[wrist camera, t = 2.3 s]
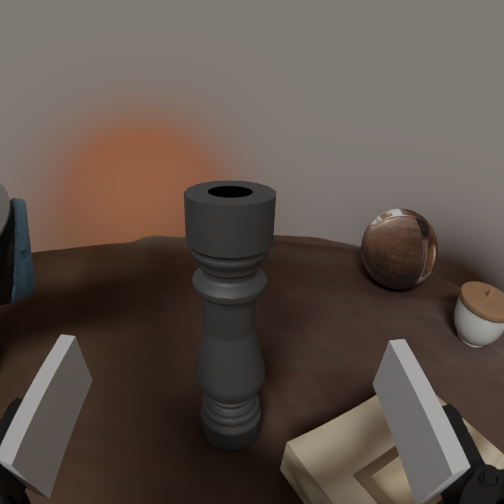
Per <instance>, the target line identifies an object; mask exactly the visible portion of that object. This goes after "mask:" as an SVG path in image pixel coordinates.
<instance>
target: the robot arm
mask: <svg viewBox="0 0 504 504" xmlns="http://www.w3.org/2000/svg"><path fill="white" fill-rule="evenodd" d="M34 289H35V276H34V269H33V262H32V254H31V246H30V238H29V230H28V220H27V211H26V204H25V201H24V200H22V199H16V198H12V199H11V200H9V197H8V194H7V191H6V190H5V188H4V187H3V186H2V185H1V184H0V305H4V304H8V303H9V304H13V303H14V302H15V301H17V300H20V299H23V298H26V297H29V296H30V295H31V294H32V293H33V291H34ZM92 381H93V379H92V377H91V375H90V372H89V370H88V368H87V365H86V363H85V360H84V358H83V355H82V353H81V350H80V347H79V345H78V342H77V339H76V337H75V336H69V335H62V334H61V335H60V337H59V339H58V340H57V342H56V343H55V345H54V347H53V348H52V350H51V352H50V353H49V355H48V357H47V358H46V360H45V362H44V363H43V365H42V367H41V368H40V370H39V372H38V374H37V375H36V377H35V379H34V381H33V383H32V384H31V386H30V388H29V390H28V392H27V393H26V395H25V397H24V399H19V398H16V399H15V400H14V401H13V402H12V403H11V404H10V405H9V406H8V407H7V409H6V411H5V413H4V415H3V416H4V417H3V418H2V419H1V421H0V504H31V503H30V501H29V498H28V496H27V494H26V493H25V489H26V487H27V488H28V489H29V490H30V491H32V492H33V493H35V494H37V495H40V496H42V497H45V498H47V499H50V495H51V492H52V489H53V486H54V483H55V479H56V476H57V473H58V470H59V467H60V464H61V461H62V458H63V456H64V453H65V450H66V447H67V444H68V442H69V439H70V436H71V433H72V431H73V428H74V425H75V423H76V420H77V418H78V415H79V413H80V410H81V408H82V405H83V403H84V400H85V398H86V395H87V393H88V390H89V388H90V386H91V383H92ZM373 387H374V389H375V392H376V394H377V397H378V399H379V402H380V405H381V407H382V410H383V413H384V415H385V418H386V420H387V423H388V426H389V429H390V431H391V434H392V437H393V440H394V442H395V445H396V448H397V451H398V454H399V456H400V459H401V462H402V465H403V468H404V471H405V474H406V477H407V480H408V483H409V486H410V489H411V492H412V495H413V499H414V502H415V504H423V503H426V502H428V501H431V500H433V499H435V498H436V497H437V496H438V495H439V494H441V497H442V499H441V500H440V501H439V502H437V503H436V504H504V469H497V468H496V467H494V466H492V465H489V464H486V463H485V462H484V461H483V459H482V457H481V455H480V453H479V451H478V449H477V446H476V444H475V442H474V440H473V438H472V436H471V434H470V432H468V428H467V427H466V425H465V424H464V421H463V419H462V417H461V415H460V413H459V412H458V411H457V410H456V409H455V408H454V407H453V406H452V405H451V404H447V405H443V406H441V404H440V402H439V400H438V399H437V397H436V395H435V393H434V391H433V389H432V387H431V385H430V383H429V382H428V380H427V378H426V376H425V374H424V372H423V371H422V369H421V367H420V365H419V364H418V362H417V360H416V358H415V356H414V355H413V353H412V351H411V349H410V348H409V346H408V344H407V343H406V341H405V339H401V340H391V341H389V343H388V345H387V348H386V351H385V354H384V356H383V359H382V362H381V364H380V367H379V369H378V372H377V374H376V377H375V379H374V382H373Z"/></svg>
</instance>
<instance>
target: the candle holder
mask: <svg viewBox="0 0 504 504" xmlns="http://www.w3.org/2000/svg"><path fill="white" fill-rule="evenodd" d="M275 202H276V191H275V190H273V189H271V188H270V187H268V186H265V185H261V184H258V183H252V182H245V181H212V182H206V183H201V184H197V185H195V186H192V187H189V188H188V189H187V190H186V191H185V192H184V205H185V206H184V207H185V229H186V241H187V244H188V246H189V247H190V248H191V252H192V255H193V257H194V259H195V260H196V261H197V262H198V265H199V267H200V268H198V269H197V270H196V271H195V272H194V275H193V277H192V284H193V287H194V290H195V293H196V294H198V295H199V296H200V297H201V298H202V299H203V312H204V330H203V334H202V339H201V343H200V348H199V353H198V357H197V361H196V366H195V376H196V380H197V384H198V386H199V388H200V389H201V390H202V391H203V392H204V394H203V397H202V402H201V409H200V416H201V423H202V429H203V432H204V435H205V438H206V439H207V440H208V441H209V442H210V443H211V444H212V445H214V446H216V447H218V448H220V449H224V450H238V449H242V448H246V447H247V446H249V445H250V444H252V443H253V442H254V441H255V440H256V438H257V436H258V435H259V431H260V422H261V409H262V408H261V406H260V399H259V397H258V395H257V392H258V391H259V389H260V388H261V386H262V385H263V383H264V380H265V363H264V360H263V356H262V352H261V348H260V344H259V340H258V335H257V331H256V327H255V309H256V299H257V298H259V297H260V296H261V295H262V293H263V292H264V291H265V289H266V282H267V276H266V274H265V273H264V272H263V270H262V269H261V268H260V266H261V263H262V261H263V260H264V259H265V258H266V257H267V255H268V248H269V247H270V246H271V245H273V232H274V218H275Z"/></svg>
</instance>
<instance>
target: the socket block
mask: <svg viewBox="0 0 504 504" xmlns="http://www.w3.org/2000/svg"><path fill="white" fill-rule="evenodd" d="M436 397H437V399H438V400H439V402H440V404H441V406H443V405H447V404H446V403H445V402H443V401H442V400H441V399H440V398H439V397H438V396H437V395H436ZM462 419H463V418H462ZM463 421H464V424H465V425H466V427H467V428H468V432H470V434H471V436H472V438H473V440H474V442H475V444H476V446H477V449H478V451H479V453H480V455H481V457H482V459H483V461H484V462H485V463H486V464H489V465H492V466H494V467H496V468H497V469H504V454H502V453H501V452H500V451H499V450H498V449H497V448H496V447H495V446H493V445H492V444H491V443H490V442H489V441H488V440H487V439H486V438H484V437H483V436H482V435H481V434H480V433H479V432H478V431H476V430H475V429H474V428H473V427H472V426H471V425H470V424H469V423H467V422H466V421H465V420H464V419H463ZM280 470H281V472H282V473H283V475H284V476H285V478H286V479H287V481H288V482H289V483H290V485H291V486H292V488H293V489H294V490H295V492H296V493H297V495H298V496H299V497H300V499H301V500H302V501H303V503H304V504H415V502H414V499H413V495H412V492H411V489H410V486H409V483H408V480H407V477H406V474H405V471H404V468H403V465H402V462H401V459H400V456H399V454H398V451H397V448H396V445H395V442H394V440H393V437H392V434H391V431H390V429H389V426H388V423H387V420H386V418H385V415H384V413H383V410H382V407H381V405H380V402H379V399H378V397H377V395H375V396H374V397H372V398H371V399H369V400H367V401H366V402H364V403H362V404H360V405H359V406H357V407H355V408H353V409H352V410H350V411H348V412H346V413H344V414H343V415H341V416H339V417H337V418H335V419H333V420H331V421H330V422H328V423H326V424H324V425H322V426H320V427H318V428H316V429H314V430H312V431H310V432H308V433H306V434H303V435H301V436H299V437H297V438H295V439H293V440H291V441H288V442H287V444H286V448H285V452H284V455H283V459H282V463H281V466H280ZM441 499H442V497H441V494H439V495H438V496H437V497H436V498H435V499H433V500H431V501H428V502H426V503H423V504H436V503H437V502H439V501H440V500H441Z"/></svg>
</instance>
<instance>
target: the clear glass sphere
mask: <svg viewBox="0 0 504 504" xmlns="http://www.w3.org/2000/svg"><path fill="white" fill-rule="evenodd" d="M361 252H362V259H363V262H364V265H365V267H366V269H367V271H368V273H369V274H370V275H371V276H372V278H373V279H374V280H376V281H377V282H378V283H380V284H381V285H383V286H385V287H388V288H391V289H397V290H402V289H409V288H412V287H414V286H417V285H418V284H420V283H421V282H423V281H424V280H425V279H426V278H427V277H428V276H429V275H430V273H431V272H432V270H433V268H434V266H435V263H436V260H437V256H438V242H437V238H436V235H435V232H434V230H433V228H432V227H431V225H430V224H429V222H428V221H427V220H426V219H425V218H424V217H422V216H421V215H420V214H418V213H416V212H414V211H411V210H408V209H393V210H388V211H385V212H383V213H381V214H380V215H378V216H377V217H376V218H375V219H374V220H373V221H372V222H371V223H370V224H369V226H368V227H367V229H366V231H365V233H364V236H363V239H362V246H361Z"/></svg>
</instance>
